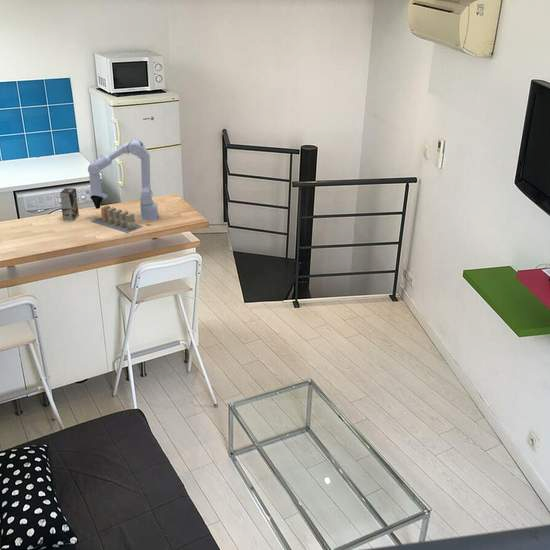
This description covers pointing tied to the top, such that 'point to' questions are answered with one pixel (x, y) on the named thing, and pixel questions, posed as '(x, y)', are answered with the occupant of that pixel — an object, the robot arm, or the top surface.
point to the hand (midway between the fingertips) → (98, 208)
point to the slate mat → (99, 221)
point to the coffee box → (69, 204)
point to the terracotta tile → (104, 213)
